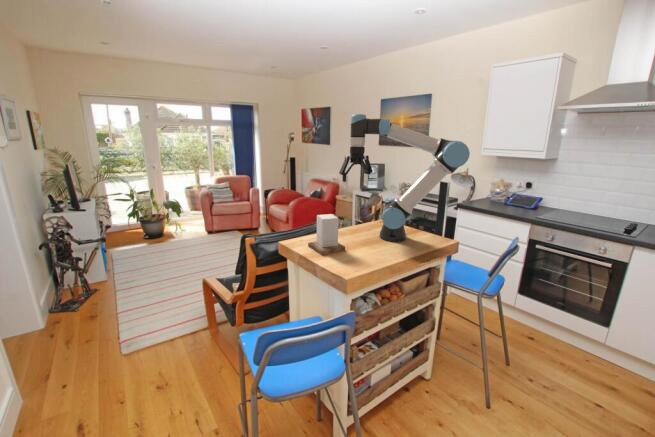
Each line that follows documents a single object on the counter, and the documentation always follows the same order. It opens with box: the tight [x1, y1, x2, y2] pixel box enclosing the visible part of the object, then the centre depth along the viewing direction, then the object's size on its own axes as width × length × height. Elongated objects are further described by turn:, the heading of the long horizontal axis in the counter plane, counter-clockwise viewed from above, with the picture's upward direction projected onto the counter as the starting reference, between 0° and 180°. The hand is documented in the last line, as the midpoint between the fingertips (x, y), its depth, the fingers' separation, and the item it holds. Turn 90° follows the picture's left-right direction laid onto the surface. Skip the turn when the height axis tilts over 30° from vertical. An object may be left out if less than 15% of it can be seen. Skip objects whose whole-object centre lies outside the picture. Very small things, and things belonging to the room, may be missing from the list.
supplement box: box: [316, 213, 339, 247], centre depth 159 cm, size 9×9×15 cm
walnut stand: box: [307, 240, 346, 256], centre depth 161 cm, size 14×14×2 cm
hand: (355, 187), depth 164 cm, fingers open, 13 cm apart
